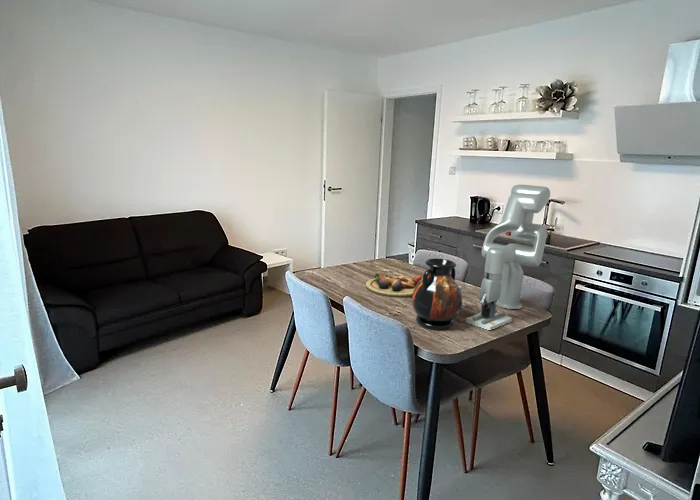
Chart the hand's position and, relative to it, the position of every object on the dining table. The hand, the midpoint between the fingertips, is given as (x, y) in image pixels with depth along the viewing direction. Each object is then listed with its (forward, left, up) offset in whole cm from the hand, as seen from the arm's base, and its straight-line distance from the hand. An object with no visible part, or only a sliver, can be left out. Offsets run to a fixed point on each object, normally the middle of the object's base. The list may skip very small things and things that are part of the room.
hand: (487, 315), depth 190 cm
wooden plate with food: (-1, -57, -4) cm, 57 cm away
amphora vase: (+20, -13, -4) cm, 24 cm away
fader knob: (0, 0, -1) cm, 1 cm away
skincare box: (0, -18, -4) cm, 18 cm away
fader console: (-2, 0, -4) cm, 4 cm away
